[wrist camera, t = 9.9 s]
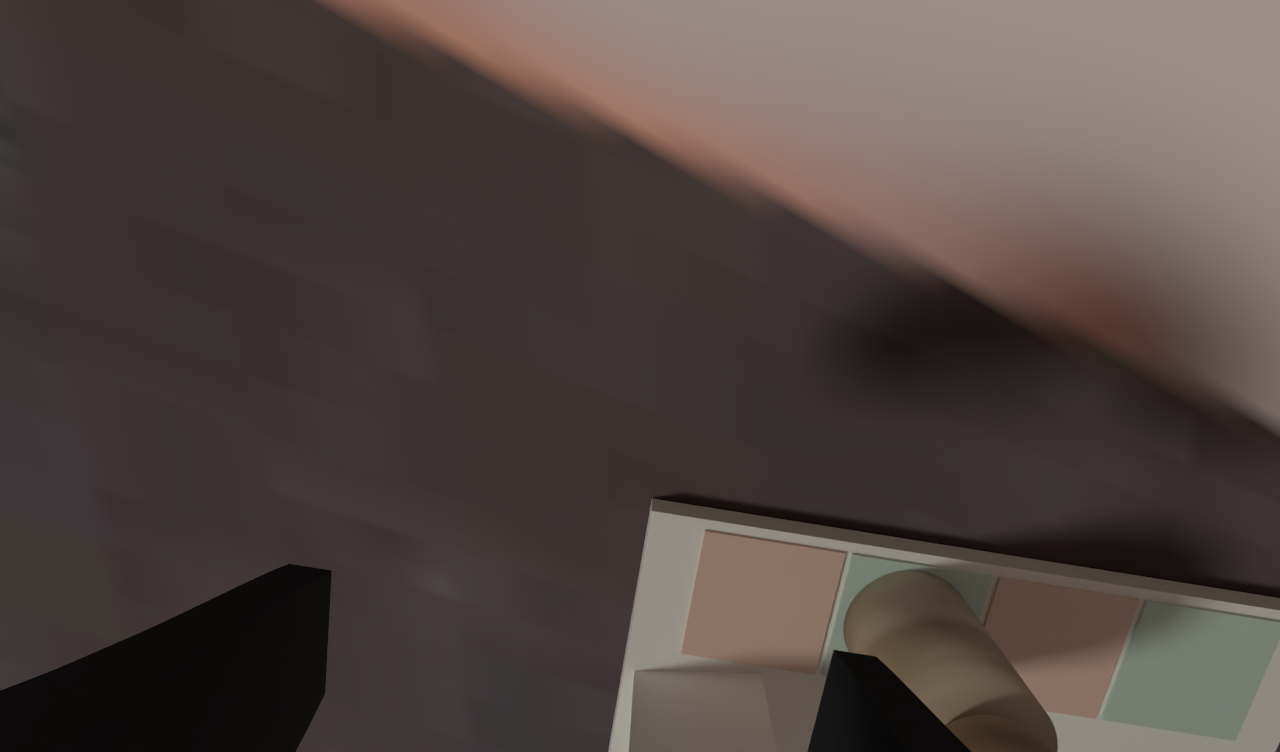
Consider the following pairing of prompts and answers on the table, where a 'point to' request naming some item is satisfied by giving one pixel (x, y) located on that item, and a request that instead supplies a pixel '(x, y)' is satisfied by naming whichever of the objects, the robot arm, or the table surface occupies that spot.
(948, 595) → the pawn
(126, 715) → the robot arm
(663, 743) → the die
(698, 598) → the board
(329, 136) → the table surface
